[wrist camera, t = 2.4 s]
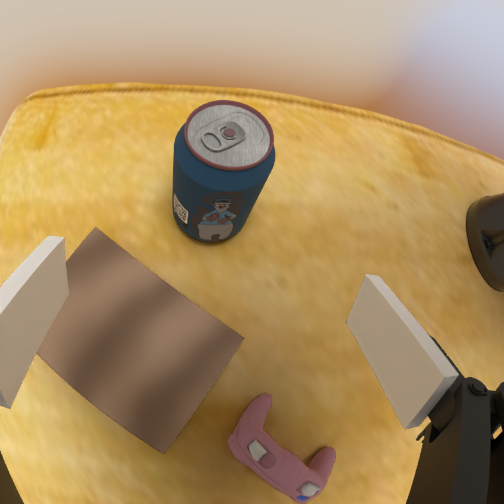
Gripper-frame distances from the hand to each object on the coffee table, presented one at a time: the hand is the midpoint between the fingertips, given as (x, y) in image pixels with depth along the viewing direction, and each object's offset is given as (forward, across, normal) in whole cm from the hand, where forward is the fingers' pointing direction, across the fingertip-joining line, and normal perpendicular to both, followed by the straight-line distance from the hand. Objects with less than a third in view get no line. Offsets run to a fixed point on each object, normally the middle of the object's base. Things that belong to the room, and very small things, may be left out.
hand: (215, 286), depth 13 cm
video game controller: (+3, +8, -18) cm, 20 cm away
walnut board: (+9, -6, -12) cm, 16 cm away
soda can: (+18, 0, -3) cm, 18 cm away
